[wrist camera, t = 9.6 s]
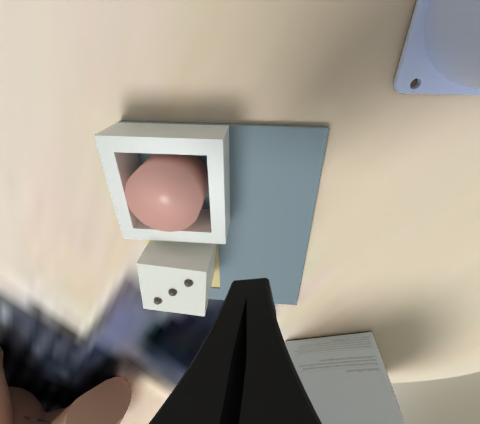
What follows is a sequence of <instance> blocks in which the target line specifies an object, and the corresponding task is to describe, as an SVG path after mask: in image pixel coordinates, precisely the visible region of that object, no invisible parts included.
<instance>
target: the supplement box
mask: <svg viewBox="0 0 480 424" xmlns="http://www.w3.org/2000/svg"><path fill="white" fill-rule="evenodd" d="M285 345H286V347H287V350H288V352H289V355H290V357H291V360H292V362H293V364H294V367H295V369H296V371H297V374H298V376H299V378H300V380H301V382H302V384H303V387H304V389H305V391H306V393H307V395H308V397H309V399H310V401H311V403H312V405H313V407H314V409H315V411H316V413H317V415H318V417H319V419H320V421H321V423H322V424H405V421H404V418H403V416H402V413H401V410H400V407H399V405H398V402H397V399H396V396H395V394H394V391H393V388H392V386H391V383H390V380H389V377H388V374H387V371H386V369H385V366H384V363H383V360H382V358H381V355H380V352H379V349H378V347H377V344H376V341H375V338H374V335H373V333H372V332H365V333H357V334H347V335H338V336H329V337H320V338H311V339H303V340H293V341H286V342H285Z"/></svg>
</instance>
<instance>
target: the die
mask: <svg viewBox="0 0 480 424" xmlns="http://www.w3.org/2000/svg"><path fill="white" fill-rule="evenodd" d="M215 256H216V244H212V243H194V242H176V241H159V240H150V241H149V243H148V244H147V246H146V248H145V250H144V251H143V253H142V255H141V256H140V258H139V260H138V262H137V269H138V276H139V282H140V289H141V295H142V302H143V308H144V309H151V310H159V311H167V312H174V313H182V314H190V315H198V316H205V313H206V309H207V304H208V299H209V295H210V290H211V286H212V281H213V276H214V272H215Z"/></svg>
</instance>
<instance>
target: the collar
mask: <svg viewBox="0 0 480 424" xmlns="http://www.w3.org/2000/svg"><path fill="white" fill-rule="evenodd" d="M94 139H95V142H96V146H97V149H98V153H99V156H100V160H101V163H102V167H103V170H104V174H105V177H106V181H107V184H108V188H109V191H110V195H111V198H112V202H113V205H114V209H115V212H116V216H117V219H118V223H119V226H120V230H121V233H122V237H123V239H141V240H159V241H176V242H194V243H212V244H226V240H227V235H228V230H229V225H230V163H229V125H195V124H160V123H125V122H117V123H115V124H114V125H112V126H110V127H108V128H106V129H104V130H103V131H101V132H99V133H97V134H95V135H94ZM138 153H150V154H178V155H206V156H207V166H208V182H209V199H210V209H201V210H200V213H199V215H198V217H197V219H196V221H195V222H194V223H193V224H192V225H191V226H189V227H187V228H186V229H183V230H180V231H175V232H166V231H160V230H156V229H154V228H151V227H149V226H147V225H145V224H144V223H143V222H141V221H140V220H139V219H138V218H137V217H136V216H135V215H134V214H133V213H132V211H131V210H130V208H129V206H128V204H127V201H126V197H125V187H126V183H127V181H128V179H129V178H130V176H131V175H132V174H133V173H134V172H135V171H136V170H137V169H138V168H139V167H140V161H139V156H138Z"/></svg>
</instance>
